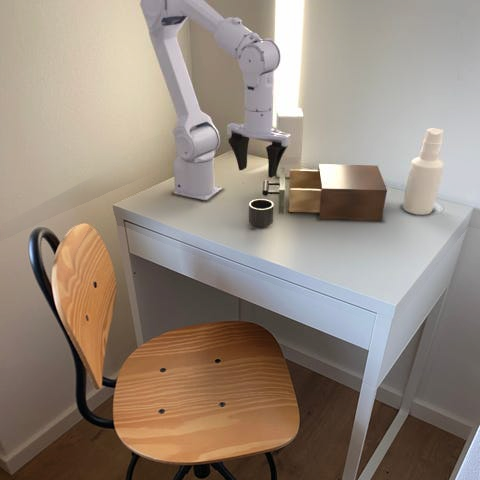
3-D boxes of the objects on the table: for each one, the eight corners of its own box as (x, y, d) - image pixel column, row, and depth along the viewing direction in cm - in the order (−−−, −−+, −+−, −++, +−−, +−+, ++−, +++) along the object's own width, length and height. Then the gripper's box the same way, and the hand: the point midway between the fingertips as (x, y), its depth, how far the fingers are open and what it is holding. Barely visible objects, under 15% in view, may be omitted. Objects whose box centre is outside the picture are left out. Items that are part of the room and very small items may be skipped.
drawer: (261, 213, 115) (261, 189, 112) (263, 189, 126) (263, 166, 122) (335, 215, 114) (338, 191, 111) (331, 191, 125) (334, 168, 121)
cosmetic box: (300, 178, 133) (305, 116, 124) (275, 178, 133) (277, 116, 124) (297, 166, 140) (302, 107, 130) (274, 166, 140) (276, 107, 130)
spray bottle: (433, 204, 120) (452, 127, 109) (431, 217, 115) (452, 137, 104) (403, 200, 122) (419, 124, 111) (400, 212, 117) (417, 133, 106)
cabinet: (318, 219, 114) (322, 188, 110) (316, 193, 126) (318, 164, 121) (381, 221, 114) (387, 190, 109) (372, 194, 125) (377, 165, 120)
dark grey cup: (272, 230, 110) (273, 209, 107) (248, 229, 111) (248, 209, 108) (272, 219, 114) (273, 199, 112) (249, 218, 115) (249, 198, 112)
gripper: (299, 108, 103) (294, 173, 111) (239, 98, 109) (239, 160, 118) (282, 117, 98) (279, 184, 107) (220, 106, 105) (222, 170, 113)
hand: (257, 172), depth 112 cm, fingers open, 7 cm apart
